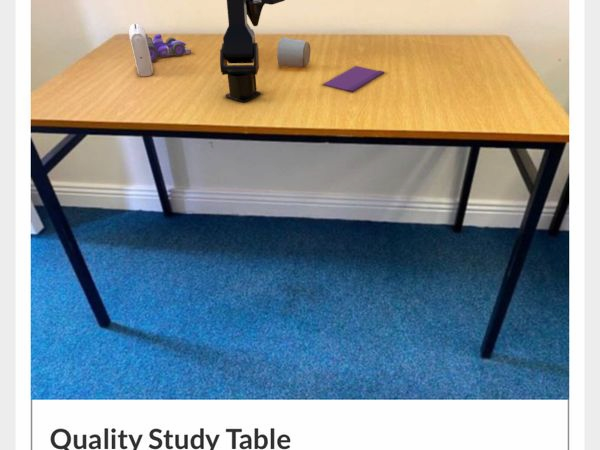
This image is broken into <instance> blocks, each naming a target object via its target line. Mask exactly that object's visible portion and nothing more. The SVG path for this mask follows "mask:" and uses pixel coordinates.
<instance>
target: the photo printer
mask: <svg viewBox="0 0 600 450" xmlns="http://www.w3.org/2000/svg"><path fill="white" fill-rule="evenodd" d="M145 34H146V31H145V28H144V26H142V25H141V24H140V23H132V24H131V25H130V26H129V28H128V38H129V41H130V45H131V49H132V53H133V54H132V55H133V57H134V62H135V66H136V71H137V74H138V76H141V77H151V76H152V75H153V73H154V71H153V63H152V62H151V57H150V52H149V48H148V44H147V39H146V35H145Z"/></svg>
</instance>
